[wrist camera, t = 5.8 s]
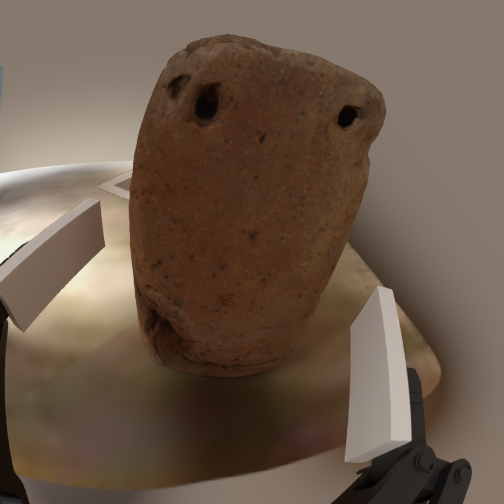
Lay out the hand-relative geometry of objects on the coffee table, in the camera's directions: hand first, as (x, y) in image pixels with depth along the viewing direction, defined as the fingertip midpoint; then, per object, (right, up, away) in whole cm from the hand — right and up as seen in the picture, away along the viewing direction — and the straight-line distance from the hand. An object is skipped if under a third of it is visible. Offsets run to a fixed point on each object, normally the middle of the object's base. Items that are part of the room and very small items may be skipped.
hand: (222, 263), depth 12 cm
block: (-2, -7, +9) cm, 12 cm away
